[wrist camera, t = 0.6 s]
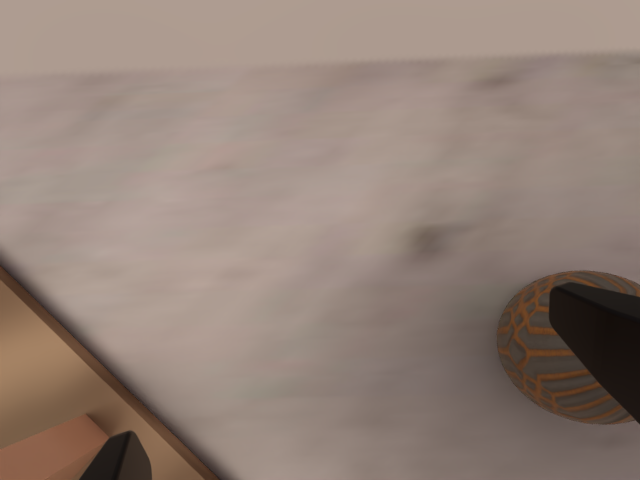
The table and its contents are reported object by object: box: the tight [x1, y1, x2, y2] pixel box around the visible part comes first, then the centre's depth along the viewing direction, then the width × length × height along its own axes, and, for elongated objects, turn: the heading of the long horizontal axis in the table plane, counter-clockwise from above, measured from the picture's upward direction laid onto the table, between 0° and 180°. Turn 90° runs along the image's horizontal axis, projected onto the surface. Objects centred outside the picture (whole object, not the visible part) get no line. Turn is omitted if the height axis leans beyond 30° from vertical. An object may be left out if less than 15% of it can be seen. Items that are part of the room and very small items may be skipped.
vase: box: [497, 271, 640, 425], centre depth 20 cm, size 7×7×9 cm
